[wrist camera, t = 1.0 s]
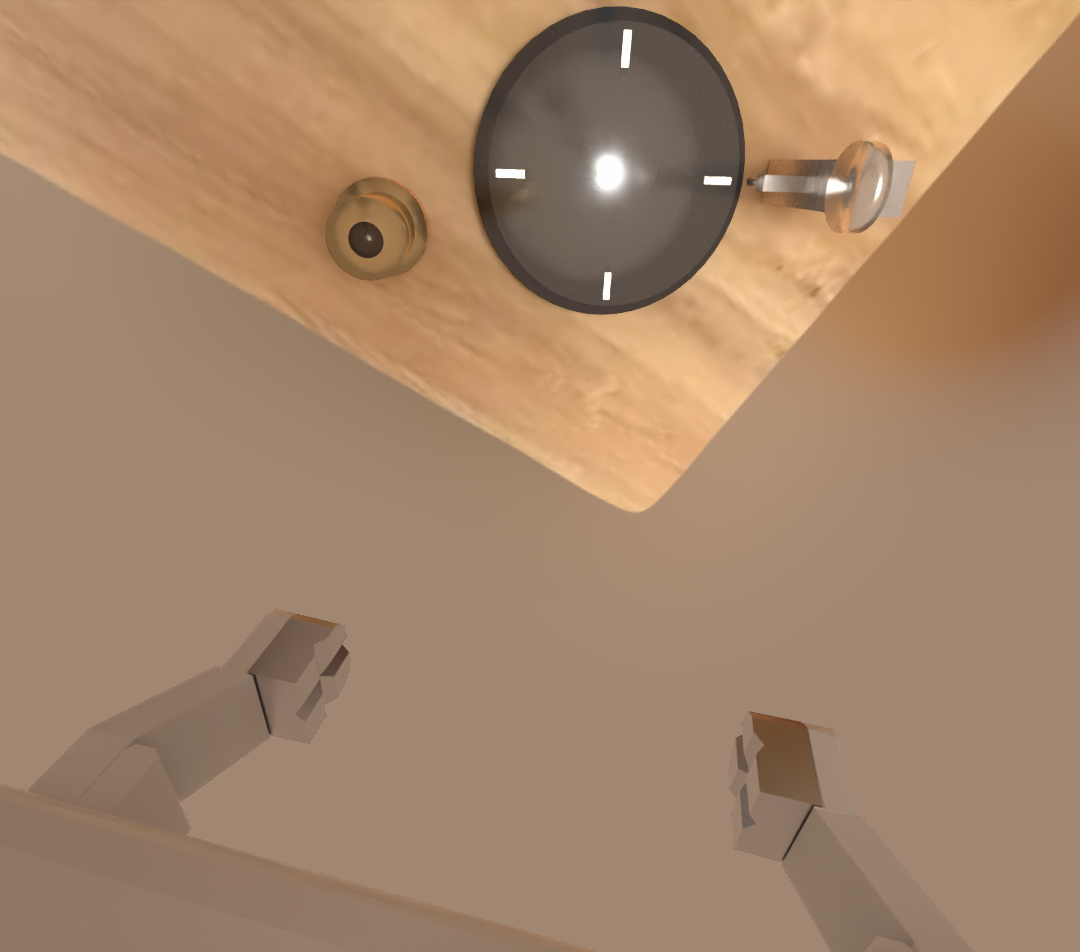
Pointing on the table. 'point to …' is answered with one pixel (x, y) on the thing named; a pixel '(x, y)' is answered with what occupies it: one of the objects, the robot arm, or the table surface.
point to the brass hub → (377, 229)
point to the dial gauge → (841, 185)
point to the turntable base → (497, 103)
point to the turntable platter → (614, 163)
